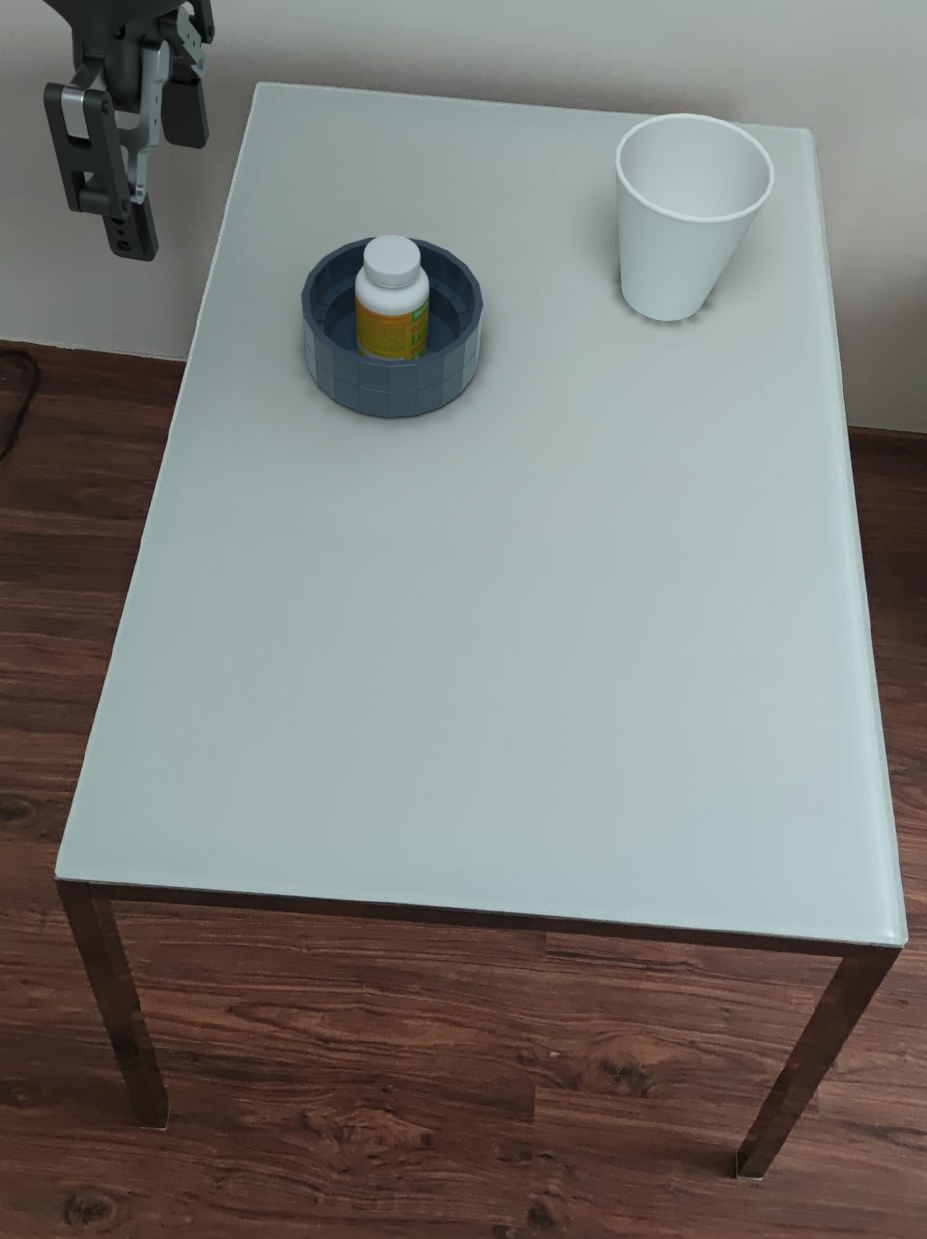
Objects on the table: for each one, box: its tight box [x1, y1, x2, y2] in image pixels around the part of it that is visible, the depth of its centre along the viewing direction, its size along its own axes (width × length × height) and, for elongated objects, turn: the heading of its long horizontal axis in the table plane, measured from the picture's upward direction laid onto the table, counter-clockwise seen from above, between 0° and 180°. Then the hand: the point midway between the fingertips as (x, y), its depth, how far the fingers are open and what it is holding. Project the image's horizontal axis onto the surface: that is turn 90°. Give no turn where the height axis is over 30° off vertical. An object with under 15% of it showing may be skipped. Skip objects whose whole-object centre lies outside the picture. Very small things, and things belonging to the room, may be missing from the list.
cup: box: [613, 112, 776, 322], centre depth 94 cm, size 12×12×12 cm
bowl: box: [300, 236, 484, 418], centre depth 92 cm, size 13×13×6 cm
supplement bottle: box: [355, 234, 429, 361], centre depth 90 cm, size 5×5×10 cm
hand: (163, 197), depth 61 cm, fingers open, 8 cm apart
